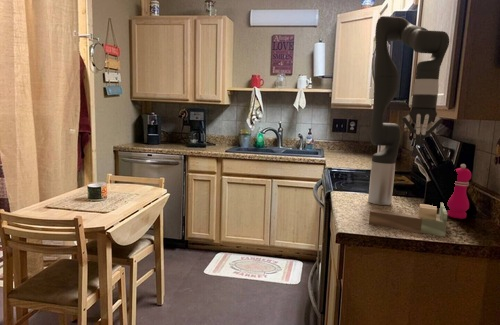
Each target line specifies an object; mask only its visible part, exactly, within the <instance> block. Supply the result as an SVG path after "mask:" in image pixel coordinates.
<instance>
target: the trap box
mask: <svg viewBox="0 0 500 325" xmlns="http://www.w3.org/2000/svg"><path fill="white" fill-rule="evenodd" d="M398 210H399V211H398V212H394V211H388V210H386V211H385V210H383V205H373V208H372V210H370V212H369V218H368V225H369V226H376V227H382V228H389V229H395V230H396V229H397V230H403V231H409V232H413V233H421V234H428V235H434V236H441V237H446V232H447V224H448V222H447V221H448V214H447V213H448V210H446V208H445V206H444V203H443V202H440V208H438V213H437V215H436V220H430V219H423V218H418V217H419V215H416V214H415V215H414V214H408V213H403V209H402V208H399V209H398Z"/></svg>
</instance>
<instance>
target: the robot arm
mask: <svg viewBox="0 0 500 325" xmlns="http://www.w3.org/2000/svg"><path fill="white" fill-rule="evenodd" d="M374 34H375V36H374V37H375V38H374V39H375V67H374V81H373V103H372V104H373V106H372V115H371V122H370V123H371V124H370V128H369V129H370V131H369V138H370V142H371V144H372V145H373V146H384V149H382V150H380V151H378V152H376V153H373V154H372V156H371V164H370V166H371V167H370V179H369V189H368V195H367V197H368V199H367V202H368V203H370V204H373V205H376V206H391V205H392V199H393V190H394V182H395V181H394V180H395V171H396V170H395V169H396V162H397V158H398V153H399V145H400V141H401V128H400V125H399V124H397V123H392V122H384V115H385V113H386V110H387V108H388V107H389V105H390V103H392V101H393V99H394V98H395V97H396V94H397V93H398V91H399V80H400V79H399V78H400V74H399V69H398V67H397V65H396V64H395V62H394V61H393V58H392V57H391V55H390V51H389V47H388V42H397V41H398V42H400V41H402V43H403V44H404V45H406V46H407V47H410V48H412V50H413V51H414V52H415V53H419V54H431V56H430V57H429V58H428V59H427V60H421V61H419V62H417V65H416V67H415V75H414V76H415V80H414V84H413V87H412V89H413V90H412V97H411V108H410V111H409V112H408V114H407V115H406V116H403V117H402V122H403V123H404V125H405V126H406V127H407V128H408V130H409V131H410V132H411V133H412V134H415V138H414V139H415V141H414V142H415V143H414V144H415V145H416V146H417V147H422V146H423V145H425V140H426V135H428V134H432V133H433V132H434V131H435V130H436V129H437V128H438V127H439V126H440V125H441V124H442V123H443V122H444V119H442V118H441V117H440V116H438V112H437V105H438V104H437V103H438V95H439V86H440V84H439V80H440V79H439V78H440V71H441V66H442V63H443V60H444V58H445V56H446V53H447V50H448V48H449V46H450V36H449V34H448V33H447V32H446V31H443V30H428V29H427V28H425V27H423V26H419V25H415V24H412V23H411V22H409V21H408V20H407V19H406V18H404V17H402V16H391V15H390V16H389V15H388V16H387V15H386V16H385V15H382V16H380V17H379V18H378V19H377V21H376V25H375V33H374ZM411 120H412V122H413V123H414V124H415V128H414V127H413V126H412V124H411V123H410V121H411ZM433 120H434V123H433V125H431V127H429V128H428V125H429V124H431V122H432V121H433ZM421 125H422V126H421ZM421 127H422V128H421ZM427 128H428V129H427Z"/></svg>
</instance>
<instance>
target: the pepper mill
mask: <svg viewBox="0 0 500 325" xmlns="http://www.w3.org/2000/svg"><path fill="white" fill-rule="evenodd" d="M455 170H456V172H457V174H458V175H457V181H455V183H454V184H455V187H454V192H453V194H452V195H451V197H450V198H449V200H448V202H447V206H448V207H449V209H450V210H447V214H448V215H447V217H451V218H455V219H460V220H462V219H466V218H467V211H468V210H469V209H470V201H469V199H468V195H467V188H468V187H469V183H470V182H469V181H471V179H472V172H471V171H470V170H469V168H467V165H466V164H465V163H461V164H460V167H458V168H456V169H455Z"/></svg>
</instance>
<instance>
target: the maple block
mask: <svg viewBox="0 0 500 325" xmlns="http://www.w3.org/2000/svg"><path fill="white" fill-rule="evenodd" d="M418 209H419V210H418V216H419V217H418V218H423V219H430V220H436V215H437V214H438V208H437V206H433V204H432V205H430V204H425V203H420V204H419V208H418Z"/></svg>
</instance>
